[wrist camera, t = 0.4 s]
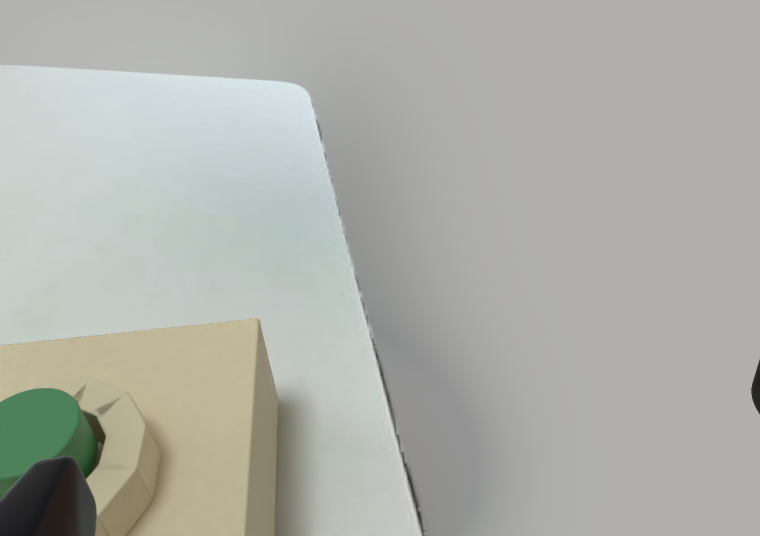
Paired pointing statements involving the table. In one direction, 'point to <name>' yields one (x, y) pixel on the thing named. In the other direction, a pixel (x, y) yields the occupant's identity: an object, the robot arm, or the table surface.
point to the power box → (168, 424)
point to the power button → (42, 433)
